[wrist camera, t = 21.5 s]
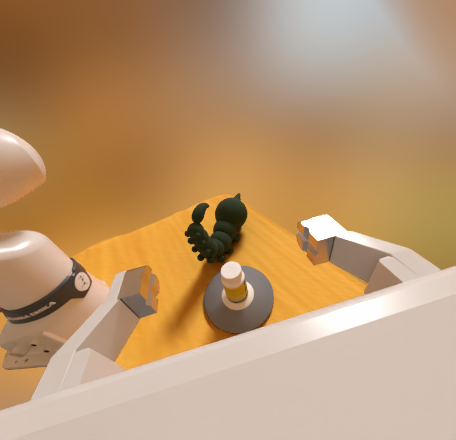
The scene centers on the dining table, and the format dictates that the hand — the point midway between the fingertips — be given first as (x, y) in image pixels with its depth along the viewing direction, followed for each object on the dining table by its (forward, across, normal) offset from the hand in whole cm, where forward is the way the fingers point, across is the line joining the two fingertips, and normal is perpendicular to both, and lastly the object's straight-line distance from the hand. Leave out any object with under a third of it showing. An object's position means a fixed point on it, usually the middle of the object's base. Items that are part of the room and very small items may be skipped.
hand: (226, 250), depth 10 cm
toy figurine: (+33, -1, +30) cm, 45 cm away
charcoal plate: (+15, 0, +30) cm, 33 cm away
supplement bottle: (+15, 0, +29) cm, 33 cm away
